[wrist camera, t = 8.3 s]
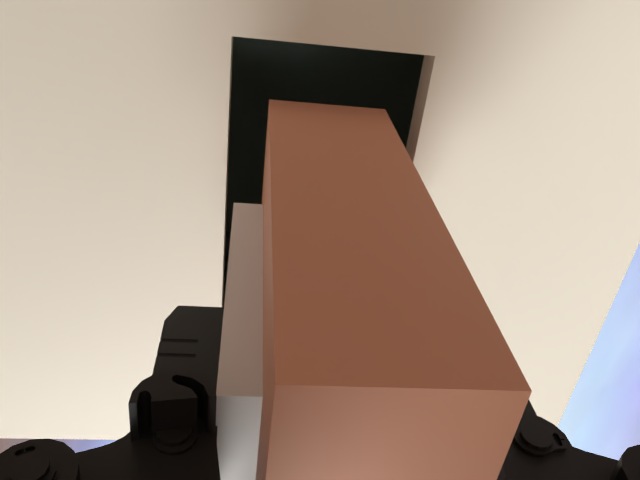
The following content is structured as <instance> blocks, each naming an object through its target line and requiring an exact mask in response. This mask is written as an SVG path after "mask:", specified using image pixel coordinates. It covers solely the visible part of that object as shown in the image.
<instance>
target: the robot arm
mask: <svg viewBox="0 0 640 480" xmlns="http://www.w3.org/2000/svg"><path fill="white" fill-rule="evenodd" d="M262 400H263V204H248V203H234V205H233V216H232V226H231V237H230V248H229V259H228V270H227V281H226V291H225V302H224V307H203V306H177V307H176V308H175V309H174V310H173V311H172V313H171V314H170V315H169V316H168V317H167V318H166V319H165V320H164V324H163V329H162V333H161V338H160V342H159V347H158V351H157V357H156V360H155V365H154V369H153V373H152V376H150V377H148V378H146V379H144V380H142V381H141V382H140V383H139V384H138V385H137V387H136V388H135V389H134V390H133V391H132V394H131V397H130V400H129V403H128V406H129V421H130V432H129V433H128V434H127V435H125V436H124V437H122V438H120V439H119V440H117V441H115V442H113V443H110V444H107V445H104V446H102V447H98V448H94V449H90V450H86V451H82V452H78V453H75V452H74V451H73V450H72V449H71V448H70V447H69V446H67V445H66V444H65V443H64V442H60V441H56V440H52V439H34V440H28V441H25V442H22V443H20V444H17V445H14V446H12V447H10V448H9V449H7V450H5V451H4V452H2V453H1V454H0V480H255V479H256V467H257V456H258V445H259V434H260V422H261V411H262ZM497 480H640V445H636V446H633V447H629V448H627V449H626V451H625V452H624V453H623V454H622V456H621V458H620V460H619V461H618V460H614V459H611V458H607V457H604V456H600V455H597V454H593V453H589V452H586V451H583V450H580V449H577V448H575V447H572V445H571V444H570V442H569V440H568V439H567V437H566V435H565V434H564V433H563V432H562V431H561V430H560V429H558V428H557V427H556V426H555V425H554V424H552V423H551V422H549V421H547V420H545V419H543V418H542V417H539V416H537V414H536V412H535V410H534V408H533V406H532V404H531V403H530V401H529V400H528V402H527V405H526V407H525V410H524V412H523V415H522V418H521V420H520V423H519V425H518V428H517V430H516V433H515V435H514V438H513V440H512V443H511V445H510V448H509V450H508V453H507V455H506V458H505V460H504V463H503V465H502V468H501V470H500V473H499V475H498V478H497Z"/></svg>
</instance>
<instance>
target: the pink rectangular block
mask: <svg viewBox="0 0 640 480" xmlns="http://www.w3.org/2000/svg"><path fill="white" fill-rule="evenodd" d="M262 204H263V400H262V411H261V422H260V434H259V445H258V456H257V467H256V479H255V480H497V478H498V475H499V473H500V470H501V468H502V465H503V463H504V460H505V458H506V455H507V453H508V450H509V448H510V445H511V443H512V440H513V438H514V435H515V433H516V430H517V428H518V425H519V423H520V420H521V418H522V415H523V412H524V410H525V407H526V405H527V402H528V400H529V397H530V395H531V392H532V390H531V388H530V386H529V385H528V383H527V381H526V379H525V377H524V375H523V373H522V371H521V369H520V367H519V365H518V363H517V361H516V360H515V358H514V356H513V354H512V352H511V350H510V348H509V346H508V344H507V342H506V340H505V338H504V337H503V335H502V333H501V331H500V329H499V327H498V325H497V323H496V321H495V319H494V317H493V315H492V313H491V312H490V310H489V308H488V306H487V304H486V302H485V300H484V298H483V296H482V294H481V292H480V290H479V289H478V287H477V285H476V283H475V281H474V279H473V277H472V275H471V273H470V271H469V269H468V267H467V265H466V264H465V262H464V260H463V258H462V256H461V254H460V252H459V250H458V248H457V246H456V244H455V242H454V241H453V239H452V237H451V235H450V233H449V231H448V229H447V227H446V225H445V223H444V221H443V219H442V217H441V216H440V214H439V212H438V210H437V208H436V206H435V204H434V202H433V200H432V198H431V196H430V194H429V193H428V191H427V189H426V187H425V185H424V183H423V181H422V179H421V177H420V175H419V173H418V171H417V169H416V168H415V166H414V164H413V162H412V160H411V158H410V156H409V154H408V152H407V150H406V148H405V146H404V144H403V143H402V141H401V139H400V137H399V135H398V133H397V131H396V129H395V127H394V125H393V123H392V121H391V120H390V118H389V116H388V114H387V112H386V110H385V109H377V108H365V107H353V106H341V105H330V104H318V103H306V102H294V101H283V100H271V99H269V106H268V120H267V134H266V148H265V162H264V176H263V190H262Z"/></svg>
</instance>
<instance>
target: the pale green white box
mask: <svg viewBox="0 0 640 480" xmlns="http://www.w3.org/2000/svg"><path fill="white" fill-rule="evenodd" d="M269 99H271V100H283V101H294V102H306V103H318V104H330V105H341V106H353V107H365V108H377V109H385V110H386V112H387V114H388V116H389V118H390V120H391V121H392V123H393V125H394V127H395V129H396V131H397V133H398V135H399V137H400V139H401V141H402V143H403V144H404V146H405V148H406V150H407V152H408V154H409V156H410V158H411V160H412V162H413V164H414V166H415V168H416V169H417V171H418V173H419V175H420V177H421V179H422V181H423V183H424V185H425V187H426V189H427V191H428V193H429V194H430V196H431V198H432V200H433V202H434V204H435V206H436V208H437V210H438V212H439V214H440V216H441V217H442V219H443V221H444V223H445V225H446V227H447V229H448V231H449V233H450V235H451V237H452V239H453V241H454V242H455V244H456V246H457V248H458V250H459V252H460V254H461V256H462V258H463V260H464V262H465V264H466V265H467V267H468V269H469V271H470V273H471V275H472V277H473V279H474V281H475V283H476V285H477V287H478V289H479V290H480V292H481V294H482V296H483V298H484V300H485V302H486V304H487V306H488V308H489V310H490V312H491V313H492V315H493V317H494V319H495V321H496V323H497V325H498V327H499V329H500V331H501V333H502V335H503V337H504V338H505V340H506V342H507V344H508V346H509V348H510V350H511V352H512V354H513V356H514V358H515V360H516V361H517V363H518V365H519V367H520V369H521V371H522V373H523V375H524V377H525V379H526V381H527V383H528V385H529V386H530V388H531V390H532V392H531V395H530V397H529V401H530V403H531V404H532V406H533V408H534V410H535V412H536V414H537V416H539V417H542V418H543V419H545V420H547V421H549V422H551V423H552V424H554V425H555V426H556V427H557V426H558V424H559V422H560V420H561V417H562V415H563V413H564V411H565V408H566V406H567V404H568V402H569V399H570V397H571V395H572V393H573V391H574V388H575V386H576V384H577V382H578V379H579V377H580V375H581V373H582V370H583V368H584V366H585V364H586V361H587V359H588V357H589V355H590V352H591V350H592V348H593V346H594V343H595V341H596V339H597V337H598V334H599V332H600V330H601V328H602V326H603V323H604V321H605V319H606V317H607V314H608V312H609V310H610V308H611V305H612V303H613V301H614V299H615V296H616V294H617V292H618V290H619V287H620V285H621V283H622V281H623V278H624V276H625V274H626V272H627V270H628V267H629V265H630V263H631V261H632V258H633V256H634V254H635V252H636V249H637V247H638V245H639V243H640V0H0V438H29V439H101V440H119V439H120V438H122V437H124V436H125V435H127V434H128V433H129V432H130V421H129V406H128V403H129V400H130V397H131V394H132V391H133V390H134V389H135V388H136V387H137V385H138V384H139V383H140V382H141V381H142V380H144V379H146V378H148V377H150V376H152V373H153V369H154V365H155V360H156V357H157V351H158V347H159V342H160V338H161V333H162V329H163V324H164V320H165V319H166V318H167V317H168V316H169V315H170V314H171V313H172V311H173V310H174V309H175V308H176V307H177V306H203V307H224V302H225V291H226V281H227V270H228V259H229V248H230V237H231V226H232V216H233V205H234V203H248V204H262V190H263V176H264V162H265V148H266V134H267V120H268V106H269Z"/></svg>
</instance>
